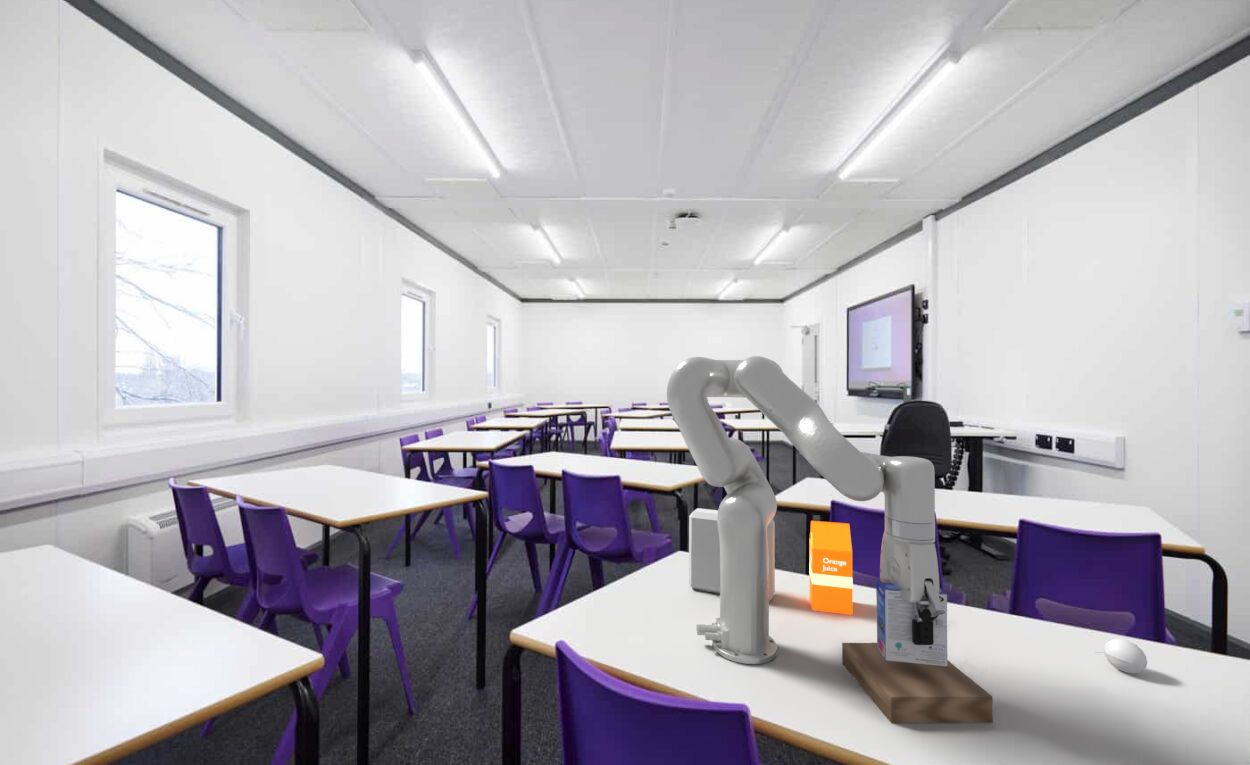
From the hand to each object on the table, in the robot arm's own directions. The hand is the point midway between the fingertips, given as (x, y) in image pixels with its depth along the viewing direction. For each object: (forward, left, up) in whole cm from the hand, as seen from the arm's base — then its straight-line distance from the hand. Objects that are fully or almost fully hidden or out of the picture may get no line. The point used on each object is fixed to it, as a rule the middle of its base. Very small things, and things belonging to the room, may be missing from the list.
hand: (910, 632), depth 82 cm
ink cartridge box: (0, 0, -4) cm, 4 cm away
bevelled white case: (-21, +41, -10) cm, 47 cm away
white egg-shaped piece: (+43, +6, -10) cm, 45 cm away
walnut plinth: (0, 0, -10) cm, 10 cm away
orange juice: (+1, +33, -10) cm, 35 cm away
